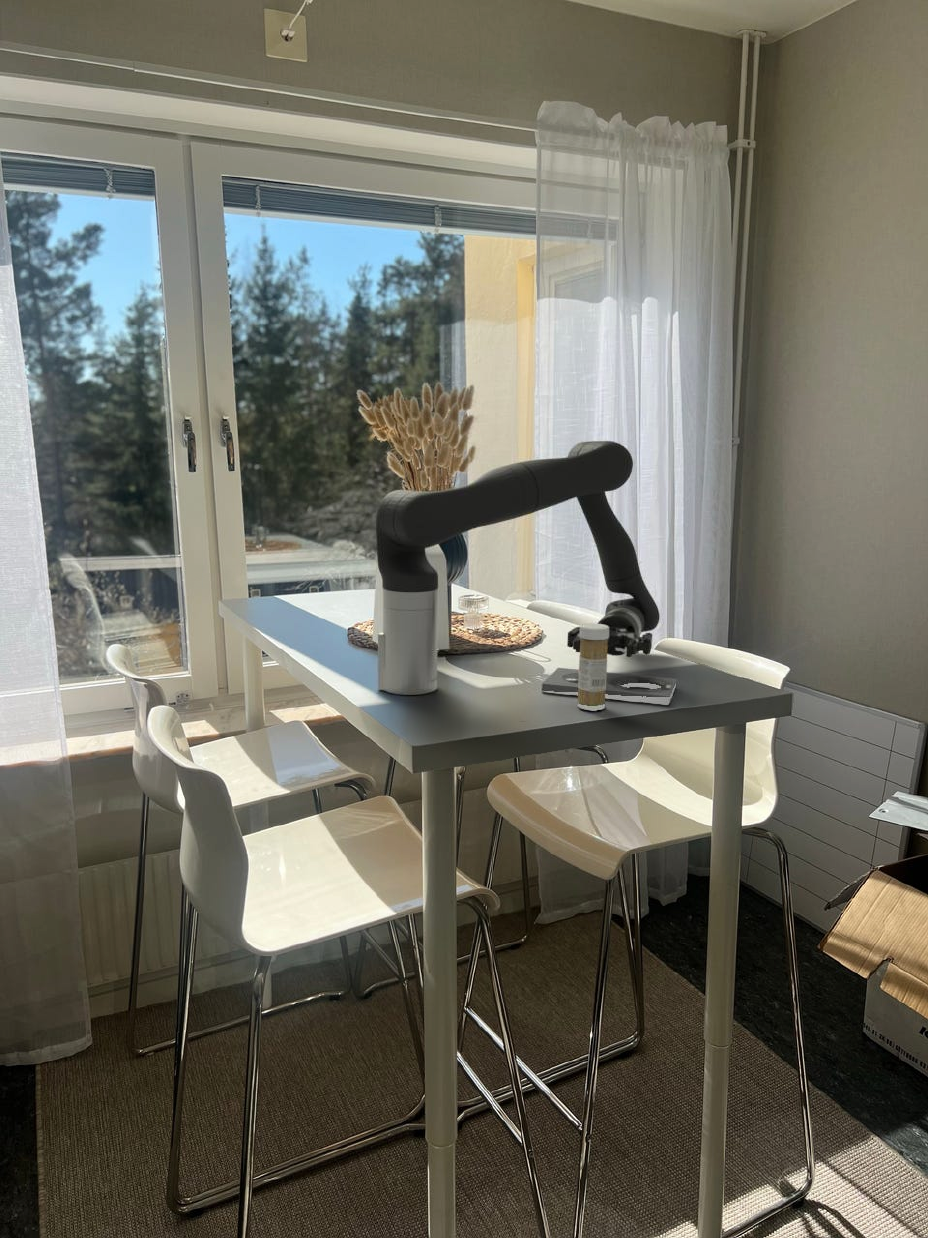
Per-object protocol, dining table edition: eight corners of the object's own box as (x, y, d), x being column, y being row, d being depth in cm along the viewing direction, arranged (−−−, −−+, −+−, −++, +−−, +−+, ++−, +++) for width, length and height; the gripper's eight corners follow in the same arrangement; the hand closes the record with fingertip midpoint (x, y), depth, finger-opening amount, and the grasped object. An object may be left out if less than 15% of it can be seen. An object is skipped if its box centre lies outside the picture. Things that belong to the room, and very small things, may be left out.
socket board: (541, 692, 153) (542, 682, 153) (557, 676, 164) (558, 667, 164) (668, 706, 146) (669, 695, 146) (676, 688, 158) (677, 678, 157)
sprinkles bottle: (602, 704, 147) (606, 622, 144) (608, 712, 142) (612, 628, 140) (574, 704, 147) (577, 622, 144) (579, 712, 142) (582, 628, 140)
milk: (424, 639, 194) (425, 516, 189) (449, 650, 184) (451, 520, 179) (372, 644, 188) (371, 517, 183) (394, 655, 178) (395, 522, 173)
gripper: (581, 607, 168) (562, 623, 153) (659, 613, 164) (647, 630, 149) (579, 647, 170) (560, 666, 154) (656, 654, 165) (645, 674, 150)
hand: (603, 648), depth 152 cm, fingers open, 8 cm apart
